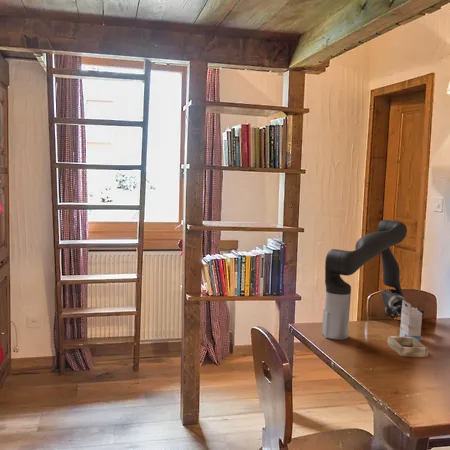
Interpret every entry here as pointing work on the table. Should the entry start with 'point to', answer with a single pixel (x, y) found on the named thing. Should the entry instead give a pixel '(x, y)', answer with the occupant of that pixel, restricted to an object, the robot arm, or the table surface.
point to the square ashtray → (413, 351)
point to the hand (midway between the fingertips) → (408, 316)
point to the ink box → (410, 322)
